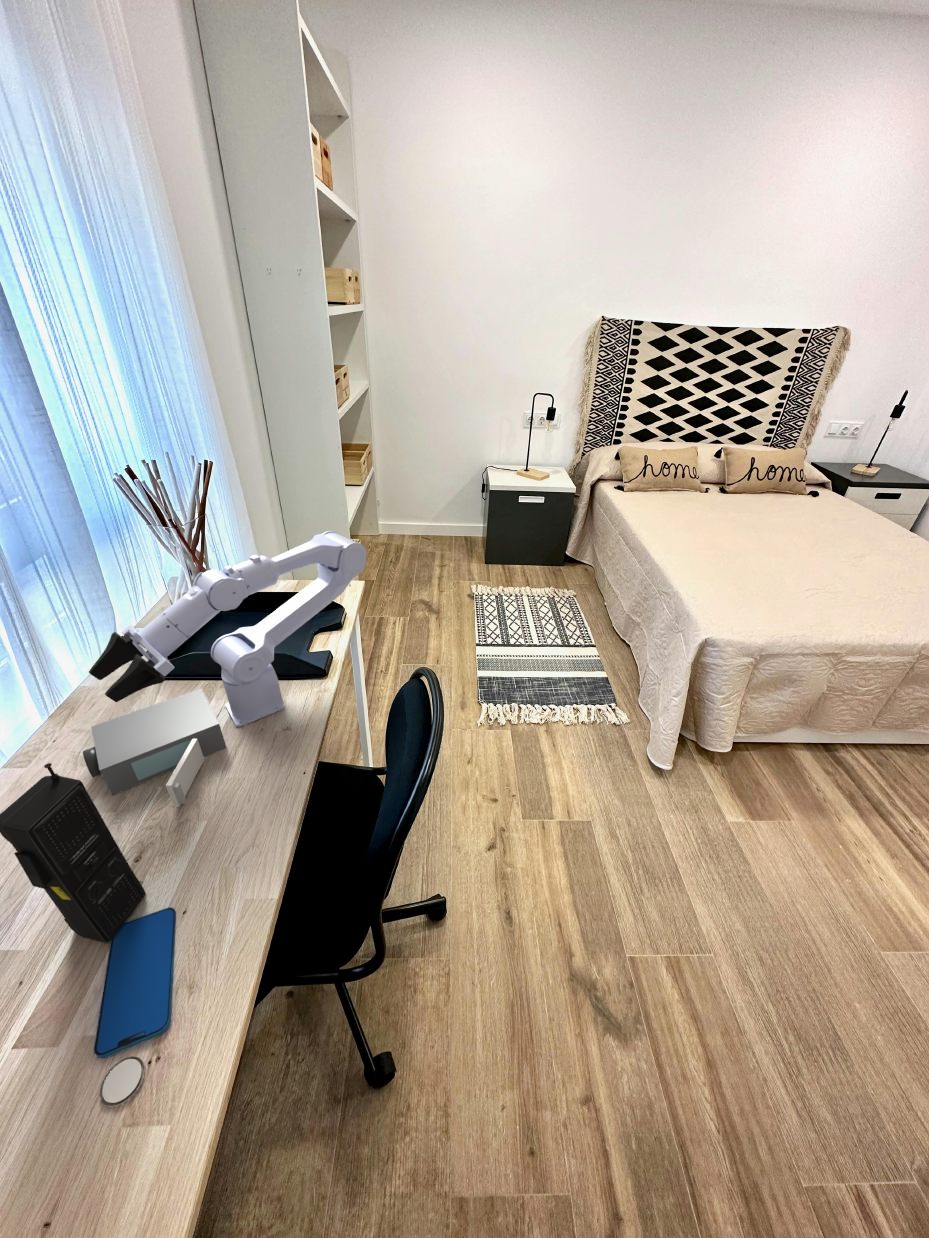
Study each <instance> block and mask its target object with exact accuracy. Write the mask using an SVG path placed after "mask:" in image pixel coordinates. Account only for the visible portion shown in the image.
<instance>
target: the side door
mask: <svg viewBox="0 0 929 1238" xmlns="http://www.w3.org/2000/svg"><path fill="white" fill-rule="evenodd" d="M204 761H205V757H204V756H203V754H202V751H201V748H200V745H199V742H198V739H192V740H191V742H190V744H189V746H188V747H187V749H186V751H185V753H184V754H183V756H182V758H181V760H180V761H179V763H178V765H177V767H176V768H175V770H173V772H172V774H171V775H170V777H169V779H168V781H167V783H166V784H165V787H166V790H167V792H168V795H169V796H170V799H171V802H172V804H173V806H174V807H175V808H177V807H178V808H180V807H181V805H185V803H186V802H187V798H186V795H187V793H188V792H189V789H190V788H191V785H192V784H193V782H194V781H195V778H196V776H197V774H198V772H199V770H200V768H201V767H202V765H203V763H204Z"/></svg>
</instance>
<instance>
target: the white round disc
mask: <svg viewBox="0 0 929 1238" xmlns="http://www.w3.org/2000/svg"><path fill="white" fill-rule="evenodd" d="M138 1060H140V1061H141V1062H142V1063H143V1068H144V1069H143V1076H142V1065H141V1063H140V1061H138ZM110 1071H111V1072H110ZM141 1076H142V1079H141ZM106 1077H107V1078H106ZM145 1077H146V1066H145V1063H144V1062H143V1061H142V1059H141V1058H140V1057H139V1056H134V1055H133V1056H127V1057H125V1058H122V1059H121V1060H118V1062H117V1063H115V1064H114V1065H113V1066H112V1067H111V1068H110V1069H109V1070H108V1071H107V1073H106V1074H105V1076H104V1078H103V1079H102V1081H101V1085H100V1088H99V1098H100V1101H101V1102H102V1104H103V1105H104V1106H105V1107H108V1108H111V1109H112V1108H113V1109H115V1108H118V1107H121V1106H123V1105H125V1104H126V1103H128V1102H129V1101H130V1100H132V1098H134V1097H135V1095H136V1094H137V1093H138V1091H139V1090H140V1089H141V1086H142V1084H143V1082H144V1080H145ZM140 1079H141V1081H140ZM138 1083H139V1085H138ZM137 1085H138V1087H137ZM136 1087H137V1089H136ZM135 1089H136V1090H135ZM134 1090H135V1091H134ZM133 1091H134V1093H133V1094H131V1093H132V1092H133ZM129 1095H131V1096H130V1097H129V1098H127V1097H128V1096H129ZM102 1097H103V1099H104V1101H106V1102H107V1103H110V1104H111V1103H112V1104H113V1103H114V1104H115V1103H118V1102H121V1101H123V1100H124V1099H126V1098H127V1099H126V1100H125V1101H123V1102H122V1103H119V1104H116V1105H112V1106H111V1105H106V1104H105V1103H104V1102H103V1099H102Z"/></svg>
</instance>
